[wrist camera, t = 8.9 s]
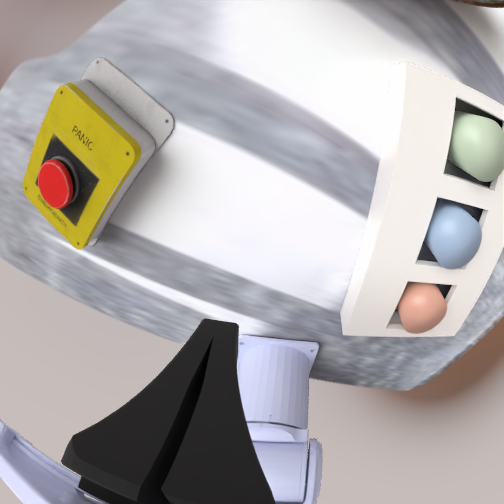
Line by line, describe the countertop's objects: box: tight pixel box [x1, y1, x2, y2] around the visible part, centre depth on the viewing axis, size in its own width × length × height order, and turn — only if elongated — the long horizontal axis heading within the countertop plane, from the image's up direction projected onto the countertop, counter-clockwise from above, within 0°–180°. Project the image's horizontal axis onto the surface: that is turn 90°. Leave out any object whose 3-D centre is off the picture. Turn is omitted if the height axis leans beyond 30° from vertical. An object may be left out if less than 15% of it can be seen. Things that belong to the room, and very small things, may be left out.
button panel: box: [340, 62, 504, 337], centre depth 16 cm, size 20×12×3 cm, turn 178°
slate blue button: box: [424, 198, 482, 270], centre depth 15 cm, size 4×4×3 cm
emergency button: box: [22, 57, 174, 250], centre depth 17 cm, size 9×4×15 cm
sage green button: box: [447, 111, 504, 182], centre depth 12 cm, size 4×4×3 cm
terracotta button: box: [396, 281, 447, 334], centre depth 19 cm, size 4×4×3 cm
